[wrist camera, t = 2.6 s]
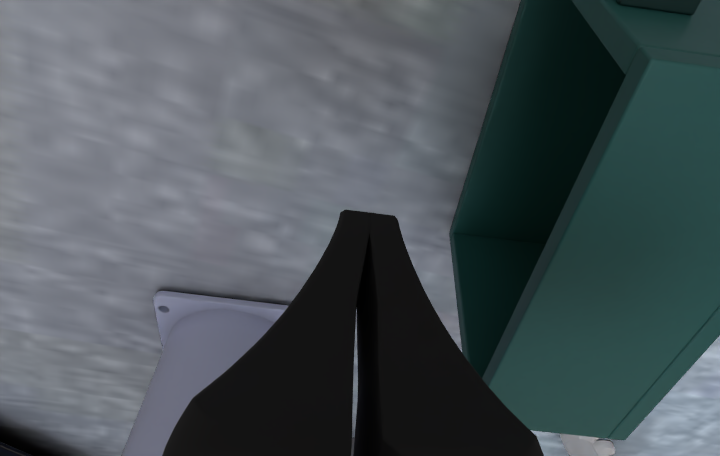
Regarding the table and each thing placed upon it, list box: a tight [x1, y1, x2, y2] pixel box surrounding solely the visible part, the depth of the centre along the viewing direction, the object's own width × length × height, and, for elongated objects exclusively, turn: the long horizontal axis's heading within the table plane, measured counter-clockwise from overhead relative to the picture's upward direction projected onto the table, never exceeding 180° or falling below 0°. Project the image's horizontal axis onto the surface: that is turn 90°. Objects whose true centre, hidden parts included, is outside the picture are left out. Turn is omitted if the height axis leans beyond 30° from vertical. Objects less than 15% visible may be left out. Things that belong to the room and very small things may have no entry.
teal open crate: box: [449, 0, 720, 440], centre depth 16 cm, size 13×5×9 cm, turn 173°
